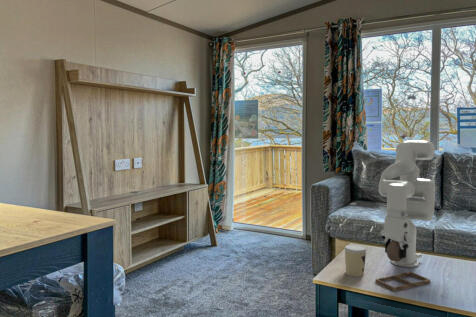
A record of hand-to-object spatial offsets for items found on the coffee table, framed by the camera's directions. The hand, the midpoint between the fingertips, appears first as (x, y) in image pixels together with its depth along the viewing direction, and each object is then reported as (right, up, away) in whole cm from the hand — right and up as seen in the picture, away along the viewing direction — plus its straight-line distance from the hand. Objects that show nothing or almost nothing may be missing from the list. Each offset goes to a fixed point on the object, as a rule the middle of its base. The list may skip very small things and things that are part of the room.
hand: (395, 254), depth 161 cm
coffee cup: (-13, -12, +13) cm, 22 cm away
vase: (0, -3, 0) cm, 3 cm away
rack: (+4, -12, +4) cm, 13 cm away
